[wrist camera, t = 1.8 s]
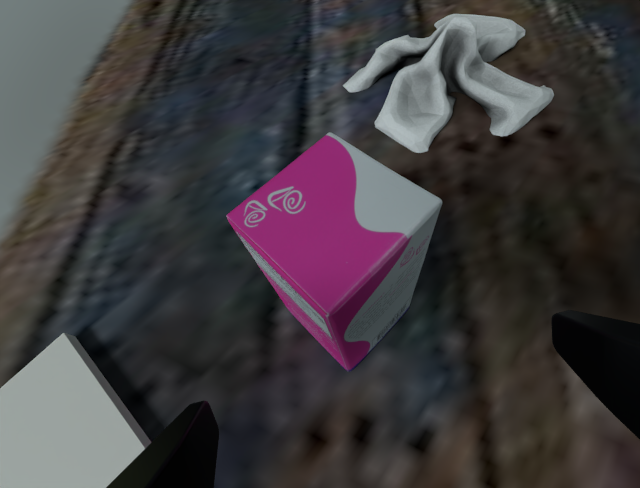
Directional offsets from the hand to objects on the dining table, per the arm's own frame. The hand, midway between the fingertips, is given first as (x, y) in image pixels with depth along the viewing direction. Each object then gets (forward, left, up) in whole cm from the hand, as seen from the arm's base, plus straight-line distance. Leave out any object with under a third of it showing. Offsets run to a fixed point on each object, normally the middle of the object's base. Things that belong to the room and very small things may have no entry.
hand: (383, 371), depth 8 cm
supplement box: (+4, -4, -12) cm, 13 cm away
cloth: (+11, -27, -13) cm, 32 cm away
